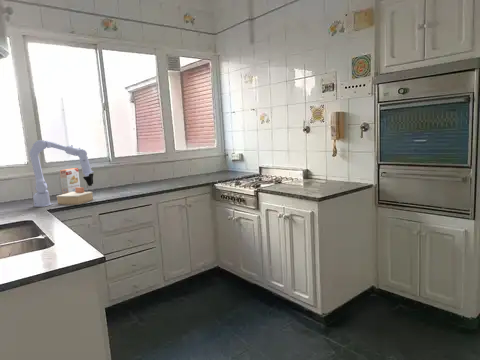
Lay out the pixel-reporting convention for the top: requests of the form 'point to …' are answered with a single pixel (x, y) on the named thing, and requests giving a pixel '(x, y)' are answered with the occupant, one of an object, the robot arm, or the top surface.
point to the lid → (75, 193)
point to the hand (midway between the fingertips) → (91, 184)
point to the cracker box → (69, 180)
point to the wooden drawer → (75, 199)
